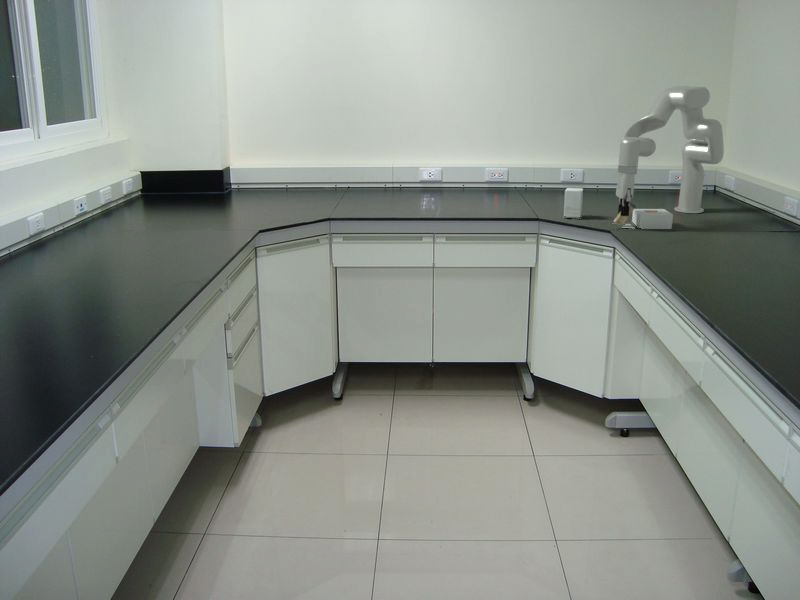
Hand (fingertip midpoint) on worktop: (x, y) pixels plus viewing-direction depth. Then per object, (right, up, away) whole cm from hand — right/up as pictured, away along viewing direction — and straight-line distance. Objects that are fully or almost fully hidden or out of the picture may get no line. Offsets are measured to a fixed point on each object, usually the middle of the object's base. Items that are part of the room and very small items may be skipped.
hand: (623, 214), depth 302 cm
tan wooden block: (-2, -4, +1) cm, 4 cm away
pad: (0, -5, +2) cm, 5 cm away
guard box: (+13, -4, +4) cm, 14 cm away
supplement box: (-16, +1, +22) cm, 27 cm away
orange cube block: (+13, -4, +4) cm, 14 cm away
